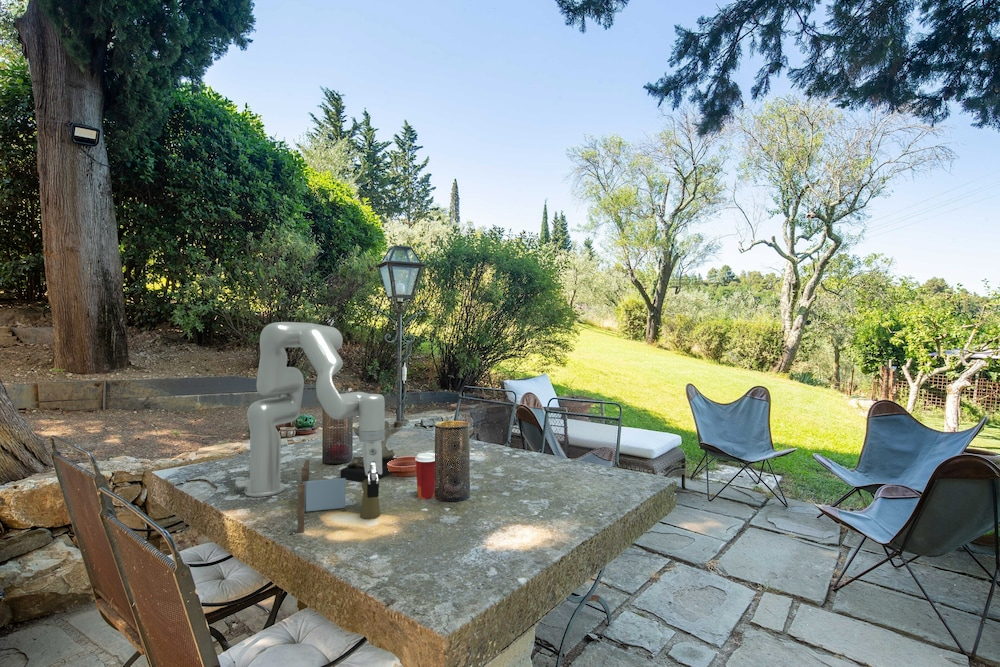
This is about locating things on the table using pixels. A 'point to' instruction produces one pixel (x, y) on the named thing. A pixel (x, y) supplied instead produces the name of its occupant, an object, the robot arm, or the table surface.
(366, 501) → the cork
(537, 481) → the table surface
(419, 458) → the paper cup
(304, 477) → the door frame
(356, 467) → the coral
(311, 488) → the door
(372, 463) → the robot arm
